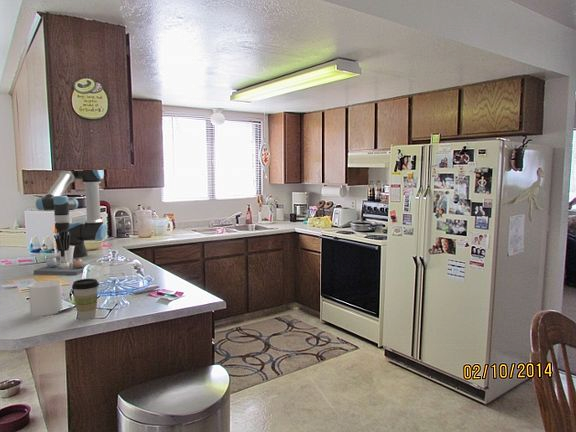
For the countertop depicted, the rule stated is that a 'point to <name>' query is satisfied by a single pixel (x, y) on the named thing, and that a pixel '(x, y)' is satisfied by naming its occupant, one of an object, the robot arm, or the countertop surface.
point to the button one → (51, 262)
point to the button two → (64, 265)
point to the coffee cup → (86, 297)
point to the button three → (77, 263)
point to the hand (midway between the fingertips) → (64, 261)
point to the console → (60, 270)
